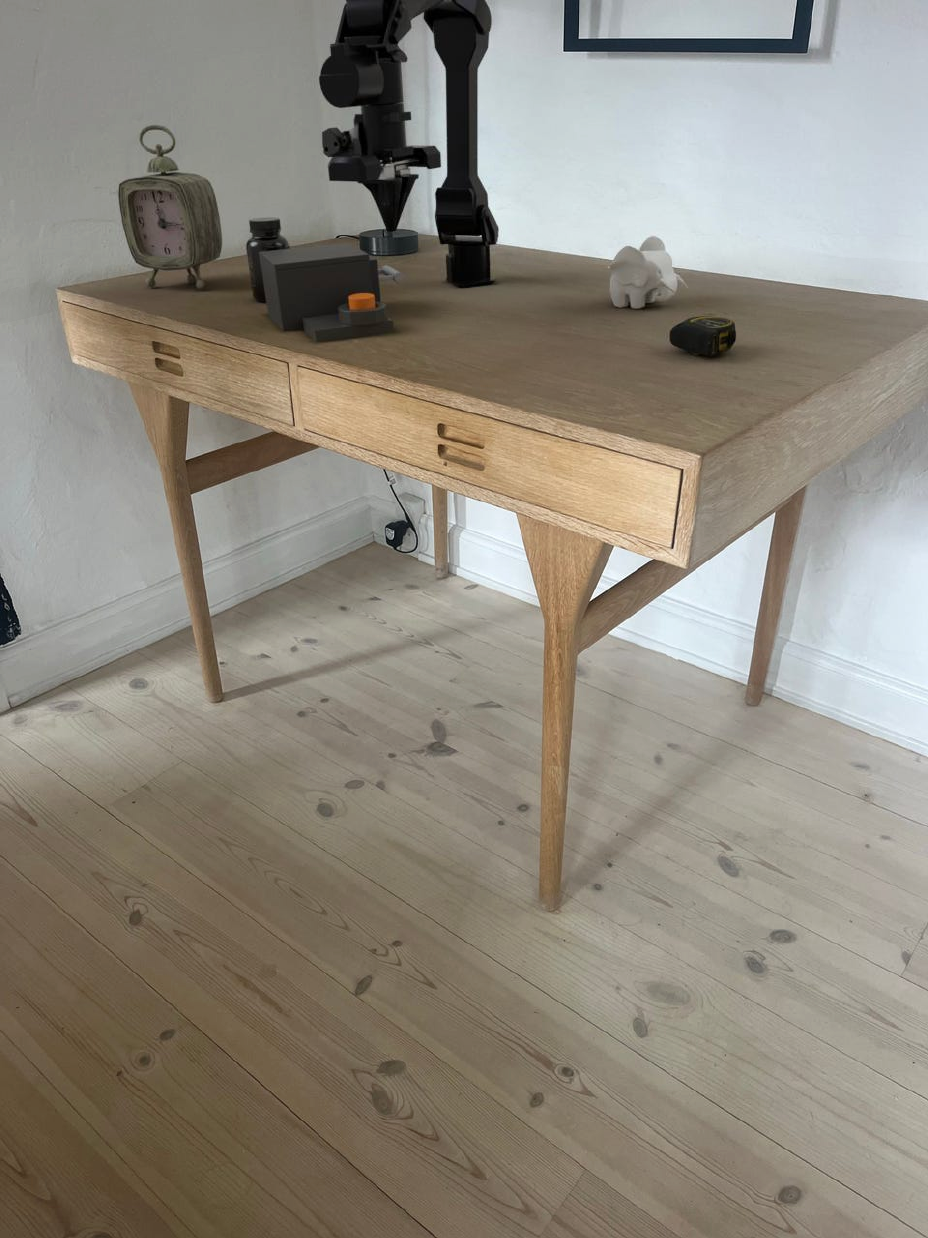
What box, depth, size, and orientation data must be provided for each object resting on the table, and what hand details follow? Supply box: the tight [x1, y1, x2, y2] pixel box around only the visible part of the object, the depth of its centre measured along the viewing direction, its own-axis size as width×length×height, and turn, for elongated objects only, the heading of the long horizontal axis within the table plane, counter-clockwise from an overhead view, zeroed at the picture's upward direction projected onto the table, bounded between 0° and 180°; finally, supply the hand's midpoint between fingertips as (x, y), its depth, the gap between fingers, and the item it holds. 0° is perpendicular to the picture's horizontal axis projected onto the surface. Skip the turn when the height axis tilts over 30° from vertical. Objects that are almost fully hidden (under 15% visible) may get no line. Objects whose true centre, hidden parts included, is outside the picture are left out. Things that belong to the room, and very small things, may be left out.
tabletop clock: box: [117, 124, 223, 291], centre depth 155 cm, size 14×9×25 cm, turn 68°
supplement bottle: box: [245, 216, 291, 303], centre depth 146 cm, size 7×7×12 cm
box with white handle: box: [369, 254, 404, 302], centre depth 136 cm, size 17×10×7 cm, turn 111°
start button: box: [348, 293, 375, 310], centre depth 126 cm, size 4×4×2 cm
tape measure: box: [668, 315, 737, 357], centre depth 112 cm, size 7×7×4 cm
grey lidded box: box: [259, 242, 373, 332], centre depth 135 cm, size 14×12×9 cm
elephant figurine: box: [606, 235, 688, 310], centre depth 133 cm, size 10×12×9 cm
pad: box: [302, 301, 394, 343], centre depth 128 cm, size 11×9×4 cm
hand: (391, 231), depth 129 cm, fingers closed
